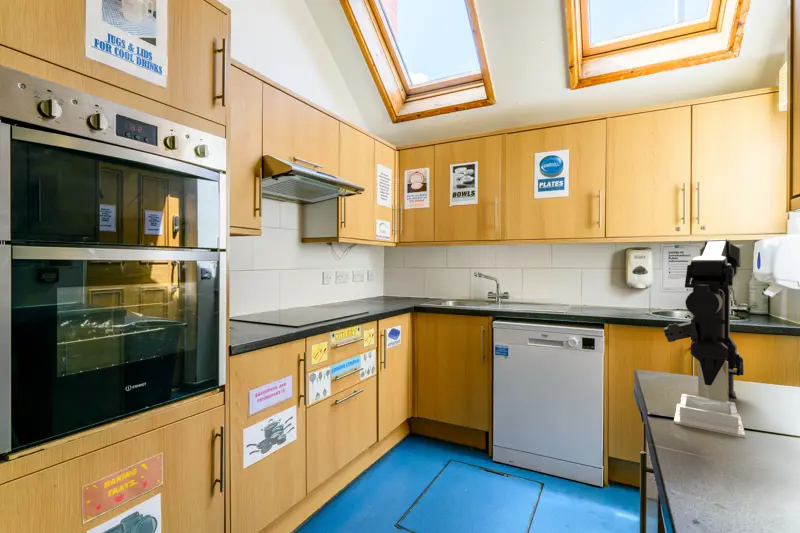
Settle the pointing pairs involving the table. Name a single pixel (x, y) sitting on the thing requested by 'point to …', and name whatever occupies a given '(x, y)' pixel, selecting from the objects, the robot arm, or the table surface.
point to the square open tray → (709, 415)
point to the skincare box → (714, 384)
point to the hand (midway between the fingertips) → (707, 381)
